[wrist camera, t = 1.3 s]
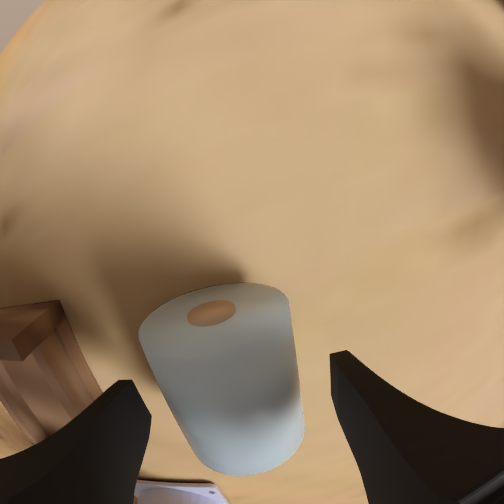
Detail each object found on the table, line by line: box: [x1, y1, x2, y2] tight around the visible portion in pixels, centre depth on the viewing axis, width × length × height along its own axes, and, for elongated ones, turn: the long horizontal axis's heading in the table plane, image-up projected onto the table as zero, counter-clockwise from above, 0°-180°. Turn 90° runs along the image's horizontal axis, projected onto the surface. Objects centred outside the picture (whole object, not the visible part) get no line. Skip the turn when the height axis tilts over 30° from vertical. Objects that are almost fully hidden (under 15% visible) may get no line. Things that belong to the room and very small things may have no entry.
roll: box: [138, 283, 305, 476], centre depth 10 cm, size 6×5×5 cm
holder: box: [0, 300, 103, 445], centre depth 11 cm, size 11×8×4 cm
